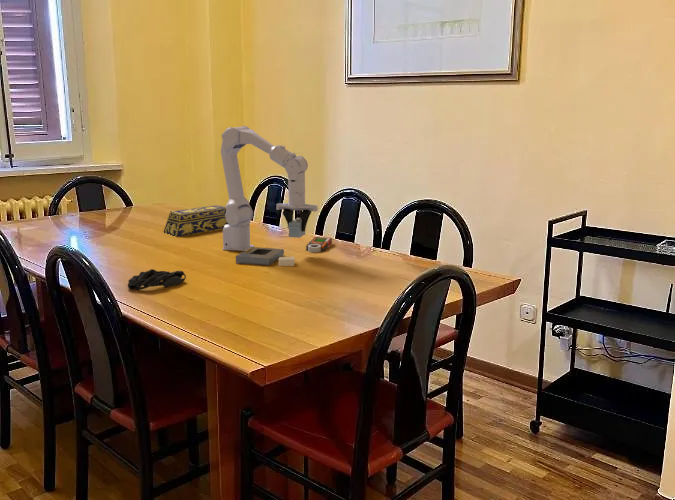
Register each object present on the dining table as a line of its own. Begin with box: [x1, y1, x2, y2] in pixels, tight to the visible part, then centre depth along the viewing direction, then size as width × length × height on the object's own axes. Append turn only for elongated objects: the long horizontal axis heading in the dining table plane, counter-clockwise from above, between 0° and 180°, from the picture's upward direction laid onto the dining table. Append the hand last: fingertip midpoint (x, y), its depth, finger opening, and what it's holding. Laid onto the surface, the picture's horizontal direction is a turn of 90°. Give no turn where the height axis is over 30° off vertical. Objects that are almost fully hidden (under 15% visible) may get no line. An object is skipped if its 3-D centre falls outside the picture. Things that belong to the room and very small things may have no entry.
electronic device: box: [305, 236, 333, 253], centre depth 245 cm, size 7×3×15 cm
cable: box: [127, 268, 187, 291], centre depth 199 cm, size 17×14×4 cm
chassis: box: [235, 246, 285, 266], centre depth 228 cm, size 12×14×3 cm
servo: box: [287, 217, 306, 239], centre depth 231 cm, size 4×9×6 cm, turn 165°
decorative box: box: [162, 204, 229, 238], centre depth 275 cm, size 11×30×9 cm, turn 134°
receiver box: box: [278, 256, 295, 267], centre depth 221 cm, size 5×4×2 cm
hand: (297, 230), depth 232 cm, fingers closed on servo, 4 cm apart
